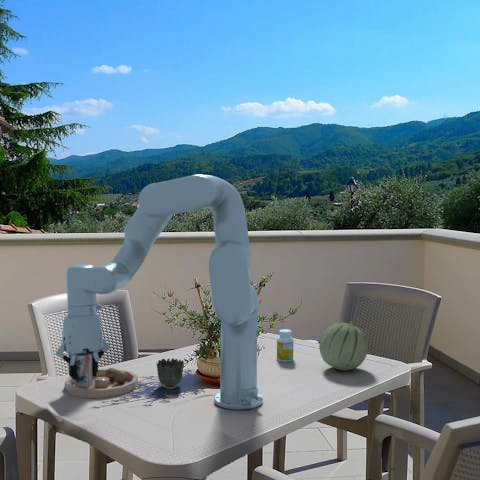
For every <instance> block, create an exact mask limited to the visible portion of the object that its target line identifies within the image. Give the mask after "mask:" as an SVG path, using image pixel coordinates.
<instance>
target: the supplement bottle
mask: <svg viewBox="0 0 480 480" xmlns="http://www.w3.org/2000/svg"><path fill="white" fill-rule="evenodd" d="M278 335H279V336H278V337H277V338H276V360H277V361H279V362H281V363H289V362H290V363H291V362H293V361H294V337H292V330H291V329H285V328H284V329H283V328H282V329H280V330H278Z"/></svg>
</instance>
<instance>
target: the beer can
mask: <svg viewBox="0 0 480 480" xmlns="http://www.w3.org/2000/svg"><path fill="white" fill-rule="evenodd" d="M75 365H76V366H77V379H76V380H75V386H76V387H79V388H89V387H90V386H92V385H93V360H92V352H91V351H89V349H88V348H87V347H85V348H83V350H82V352H81V353H79V354H77V355H76V359H75Z"/></svg>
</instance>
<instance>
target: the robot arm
mask: <svg viewBox="0 0 480 480" xmlns="http://www.w3.org/2000/svg"><path fill="white" fill-rule="evenodd" d="M137 200H138V201H137V204H138V208H137V209H136V210H135V212H134V213H133V214H132V216H131V218H130V219H129V220H128V222H127V223H126V224H125V226H124V230H123V232H124V233H123V234H124V239H123V240H124V241H123V244H121V245H122V246H121V247H120V249H119V250H118V252H117V253H116V254H115V256H114V258H113V259H112V261H111V262H110V263H107V264H104V265H103V264H102V265H100V266H93V265H92V264H86V263H85V264H83V263H81V264H78V263H77V264H73V265H69V266H68V268H67V270H66V287H67V288H66V290H67V291H66V293H67V298H66V299H67V315H65V316H64V319H63V324H62V334H61V335H62V336H61V337H62V339H61V345H60V346H59V348H58V349H57V350H56V352H55V355H56V356H57V357H58V358H60V359H62V360H63V361H65V362H66V363H67V364H68V375H69V376H70V377H71V378H72V379H73V380H76V379H77V366H76V365H75V359H76V355H77V354H79V353H81V352H82V350H83V348H85V347H87V348H88V349H89V351H91V352H92V360H93V376H94V377H96V376H97V372H98V369H99V362H100V359H101V358H102V357H103V356H104V354H105V353H106V352H107V351H108V350H109V349H110V347H111V346H110V345H109V344H108V343H107V342H106V340H105V339H104V338H103V327H102V323H101V318H100V314H99V313H98V311H99V310H102V309H103V308H102V307H103V306H102V304H98V302H97V295H109V294H112V293H114V292H116V291H119V290H120V289H123V288H124V287H126V286H127V285H128V284H129V283H130V282H131V281H132V279H133V278H134V276H135V275H136V273H137V272H138V271H139V269H140V268H141V267H142V265H143V263H144V262H145V260H146V258H147V256H148V254H149V253H150V251H151V248H152V246H153V245H154V243H155V242H156V240H157V239H158V237H159V236H160V234H161V233H162V232H163V230H164V228H166V226H167V224H168V223H169V222H170V221H171V220H172V218H173V216H174V215H177V214H184V213H188V212H192V211H199V210H206V209H209V210H211V213H212V217H213V218H212V222H213V231H214V237H215V238H214V239H215V247H213V248H214V249H212V250H211V253H210V255H209V258H208V259H209V260H208V272H209V273H208V274H209V281H210V283H209V284H210V289H211V291H210V292H211V298H212V306H213V311H214V314H215V315H216V317H217V318H218V320H219V321H220V339H219V343H220V345H219V347H220V350H219V351H220V352H219V353H220V355H219V356H220V357H219V359H220V362H219V364H220V367H219V369H220V371H219V372H220V375H219V377H220V381H219V382H220V384H219V387H220V388H219V389H220V390H219V391H220V392H218V393H217V394H216V395H214V398H213V399H214V404H215V405H216V406H218V407H220V408H223V409H228V410H237V411H239V410H240V411H241V410H243V411H244V410H249V409H254V408H257V407H259V406H260V405H262V404H263V400H264V399H263V396H262V395H261V393H259V388H258V382H257V380H258V378H257V377H258V375H257V374H258V366H257V365H258V323H259V322H258V321H259V303H260V302H259V295H258V293H257V290H256V289H255V287H254V286H253V284H251V283H250V277H249V269H250V267H251V265H252V260H253V259H252V252H251V246H250V238H249V231H248V225H247V216H246V208H245V205H244V201H243V198H242V196H241V195H240V193H239V191H238V190H237V189H236V188H235V187H234V185H232V184H231V183H230V182H228V181H226V180H225V179H222V178H220V177H218V176H215V175H208V174H192V175H188V176H183V177H179V178H173V179H169V180H165V181H160V182H153V183H150V184H147V185H146V186H144V187H143V188H142V190H141V191H140V193H139V195H138V198H137ZM64 352H66V354H67V355H68V356H67V355H66V354H65V353H64ZM69 376H68V377H69Z"/></svg>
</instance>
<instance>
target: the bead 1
mask: <svg viewBox="0 0 480 480" xmlns="http://www.w3.org/2000/svg"><path fill="white" fill-rule="evenodd" d="M107 369H108V370H107V371H106V372H105V377H108V378H109V381H113V380H115V379H114V376H115V374H116V373H117V370H116V369H117V368H115V367H109V368H107Z"/></svg>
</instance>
